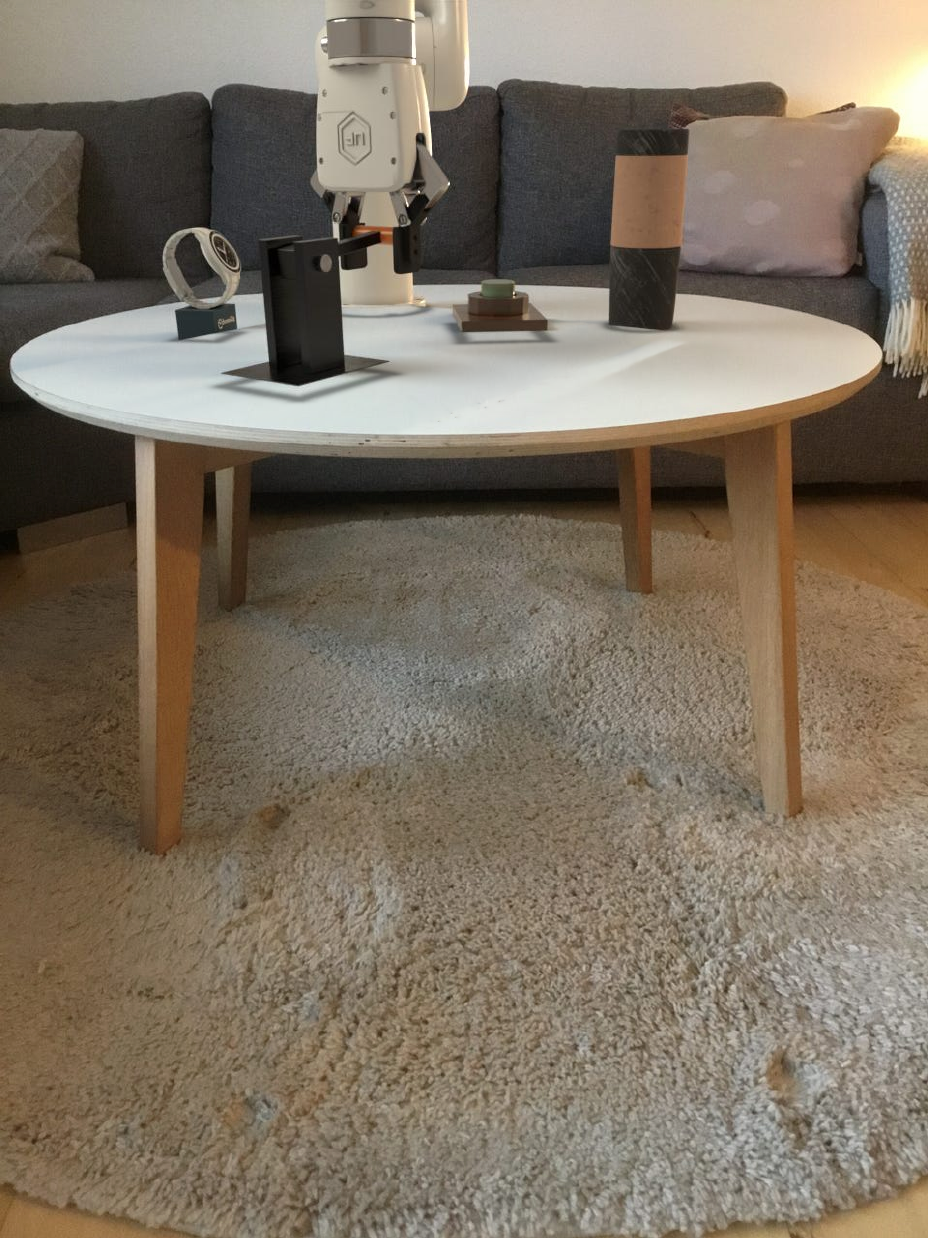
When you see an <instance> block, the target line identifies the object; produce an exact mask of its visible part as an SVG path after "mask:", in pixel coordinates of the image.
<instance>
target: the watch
mask: <svg viewBox="0 0 928 1238" xmlns="http://www.w3.org/2000/svg"><path fill="white" fill-rule="evenodd" d="M190 233H192V234H194V237H195V238H196V239H197V241H199V243H200V249H201V251H202V255H203V256H204V258H205V260H206V261H207V263H208V265H209V266H210V267H211V269H212V270H213V271H214V272H215V273H216V274H217V275H219V276H220V278H221V280H222V283H223V284H224V285H225V290H224V291H223V294H222V296H221V297H220V298H219V299H218V300H217V301H216V302H206V301H203V300H200V299H198V298H196V296H194V291H193V290H192V289H191V287H190V286H189V284H188V283H187V281H186V279H185V277H184V275H183V274H182V273H183V272H182V270H181V269H180V267H179V265H178V263H177V259H176V258H175V253H176V248H177V246H178V244H179V242H181V240H182V239H183V238H184V237H185V236H186V235H188V234H190ZM162 265H163V267H162V271H163V273H164V275H165V278H166V280H167V282H168V284H169V286H170V287H171V289H172V291H173V292H174V294H175V295H176V296H177V298H178V299H179V301H181V302H183V303H185V304H187V305H186V306H184V307H180V308H177V309H175V310H174V313H175V320H176V321H175V323H176V331H177V338H178V341H183V340H187V339H188V340H189V339H195V338H198V337H203V336H208V335H214V334H219V333H224V332H229V331H234V330H235V331H236V330H238V323H237V311H236V303H229V301H230V300H231V299H232V298H233V296H234V295H235V293H236V292H237V290H238V287H239V284H240V280H241V276H240V275H241V274H240V273H241V271H242V264H241V260H240V258H239V255H238V252H237V251H236V249H235V248H234V246H233V245H232V243H231V242H230V241H229V240H228V239H227V237H225V235H223V234H222V233H221V232H219V231H217V230H215V229H214V230H213V229H209V228H207V227H192V228H186V229H185V228H184V229H181V230H179V231H177V232H175V233H173V234H172V235H171V236H170V237H169V238H168V240H167V241H166V243H165V246H164V247H163V252H162ZM227 302H228V303H227Z"/></svg>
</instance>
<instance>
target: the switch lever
mask: <svg viewBox="0 0 928 1238" xmlns="http://www.w3.org/2000/svg"><path fill="white" fill-rule="evenodd" d="M392 231H393V227H382V226H363V225H357V226H355V227H354V229H353V237H350V238H347V239H344V240H341V241H338V251H339V256H342V255H345V254H348V253H352V252H355V251H358V250H361V249H364V248H367V247H370V246H373V245H376V244H380V245H393V235H392ZM277 253H278V260H279V266H280V272H281V278H282V279H292V280H296V273H295V260H294V246H293V245H290V246H287V247H283V248H280V249H277Z"/></svg>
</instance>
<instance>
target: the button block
mask: <svg viewBox="0 0 928 1238" xmlns="http://www.w3.org/2000/svg"><path fill="white" fill-rule="evenodd" d="M466 297H467V303H461V304H455V303H453V304H451V305H452V307H451V309H452V310H451V311H452V312H451V313H452V314H451V315H452V316H453V318H454V320H455V322H456V324H457V326H458V329H459V330H460V332H461V333H491V332H494V333H495V332H496V333H497V332H529V331H530V332H532V331H533V332H534V331H536V332H537V331H539V332H541V331H548V328H549V327H548V325H549V323H548V322H549V319H548V318H547V317H546V316H544V315H543V314H542V313H541V312H540V311H539V310H538V309H537V308H536V307H535V306H534V305H533V304H532V303H530V295H529V294H528V293H527V292H524V291H518V290H515V296H512V297H484V296H481V290H479V291H472V292H470V293H468V294H467V296H466Z"/></svg>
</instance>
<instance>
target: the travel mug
mask: <svg viewBox="0 0 928 1238" xmlns="http://www.w3.org/2000/svg"><path fill="white" fill-rule="evenodd" d="M689 144H690V129H689V128H636V129H633V128H631V129H629V128H628V129H627V128H625V129H617V132H616V145H615V160H614V175H613V176H614V178H613V195H612V210H611V228H610V243H609V244H610V247H609V280H608V281H609V282H608V283H609V284H608V285H609V287H608V289H609V290H608V326H613V327H626V328H635V329H645V330H654V331H666V330H669V329H672V327H673V323H674V316H675V315H674V314H675V308H676V299H677V298H676V297H677V290H678V279H679V271H680V260H681V252H682V242H683V229H684V228H683V226H684V213H685V200H686V186H687V173H688V172H687V171H688V159H689V155H688V154H689Z"/></svg>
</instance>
